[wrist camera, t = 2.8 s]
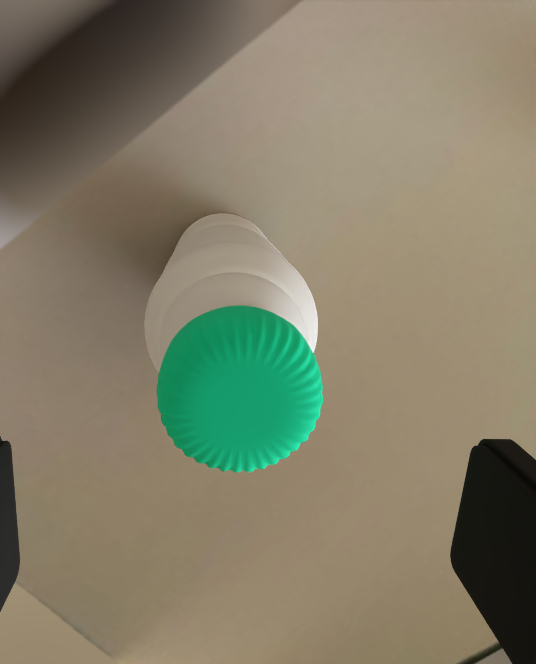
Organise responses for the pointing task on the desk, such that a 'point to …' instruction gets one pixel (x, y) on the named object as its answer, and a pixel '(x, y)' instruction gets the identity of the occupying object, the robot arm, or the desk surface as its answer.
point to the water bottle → (233, 347)
